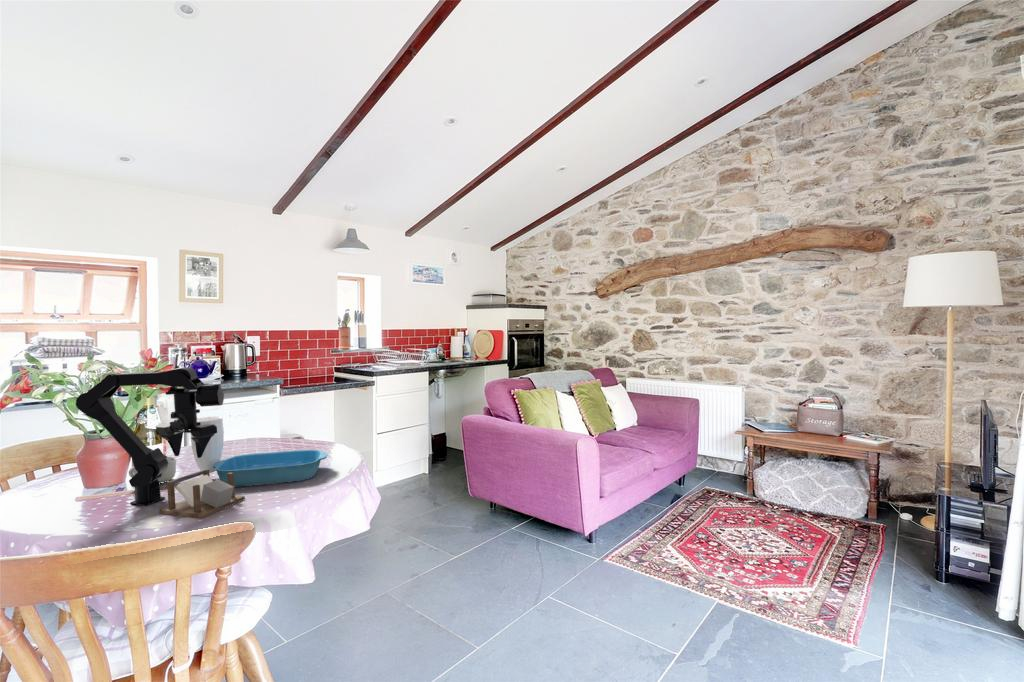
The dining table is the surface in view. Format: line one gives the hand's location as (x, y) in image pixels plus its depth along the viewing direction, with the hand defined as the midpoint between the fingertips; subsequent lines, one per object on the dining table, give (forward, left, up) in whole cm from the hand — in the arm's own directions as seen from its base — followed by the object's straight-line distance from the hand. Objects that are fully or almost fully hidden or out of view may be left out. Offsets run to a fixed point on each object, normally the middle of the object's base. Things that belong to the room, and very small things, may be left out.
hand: (188, 456), depth 157 cm
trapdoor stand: (+11, -5, -13) cm, 18 cm away
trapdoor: (+10, -5, -9) cm, 14 cm away
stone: (+14, -5, -8) cm, 17 cm away
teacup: (-26, +8, -13) cm, 30 cm away
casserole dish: (+11, +23, -14) cm, 29 cm away
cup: (-10, +16, -13) cm, 23 cm away
